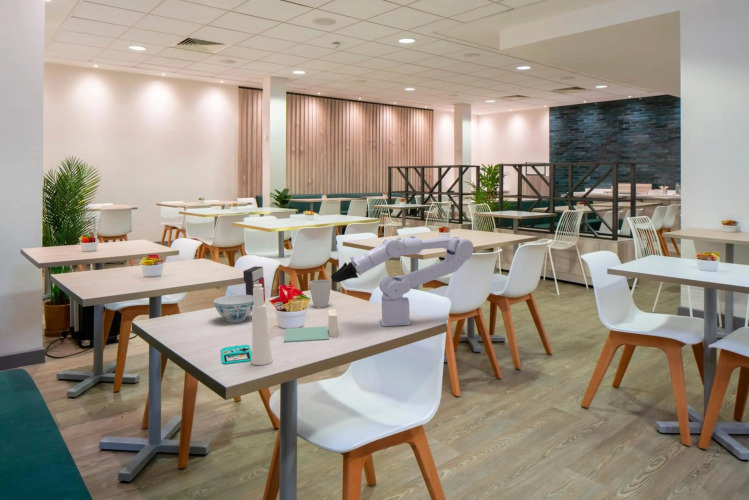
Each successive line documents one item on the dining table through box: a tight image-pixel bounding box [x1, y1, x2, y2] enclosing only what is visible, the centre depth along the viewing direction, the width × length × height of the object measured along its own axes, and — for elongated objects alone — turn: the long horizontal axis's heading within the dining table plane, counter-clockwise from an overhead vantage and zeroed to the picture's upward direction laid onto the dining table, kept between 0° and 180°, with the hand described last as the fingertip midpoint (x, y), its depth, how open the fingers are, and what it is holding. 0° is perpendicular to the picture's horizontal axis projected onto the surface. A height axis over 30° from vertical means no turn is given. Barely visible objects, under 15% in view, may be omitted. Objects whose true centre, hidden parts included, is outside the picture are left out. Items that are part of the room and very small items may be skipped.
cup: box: [309, 279, 331, 309], centre depth 214 cm, size 8×8×10 cm
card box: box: [327, 309, 338, 338], centre depth 178 cm, size 3×8×7 cm, turn 7°
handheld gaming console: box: [220, 344, 252, 365], centre depth 158 cm, size 8×1×15 cm
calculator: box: [243, 266, 266, 303], centre depth 219 cm, size 11×4×15 cm, turn 168°
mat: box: [283, 325, 330, 343], centre depth 177 cm, size 14×14×1 cm
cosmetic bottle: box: [250, 284, 274, 366], centre depth 150 cm, size 6×6×22 cm
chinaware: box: [213, 294, 254, 323], centre depth 197 cm, size 15×15×8 cm
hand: (333, 279), depth 181 cm, fingers open, 7 cm apart
